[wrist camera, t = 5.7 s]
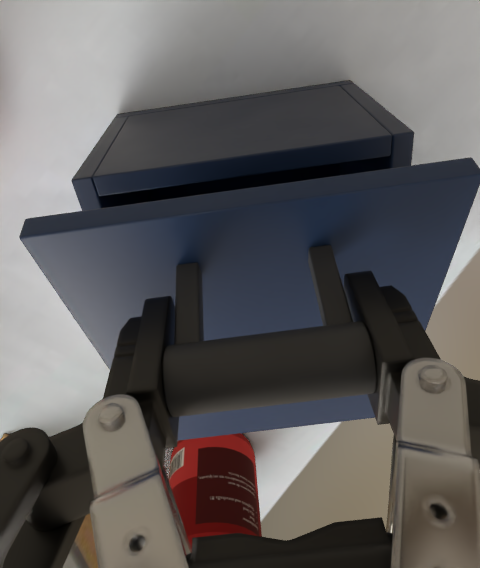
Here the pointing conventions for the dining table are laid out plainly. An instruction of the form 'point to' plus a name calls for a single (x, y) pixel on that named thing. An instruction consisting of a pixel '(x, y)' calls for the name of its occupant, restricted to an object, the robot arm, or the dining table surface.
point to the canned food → (216, 486)
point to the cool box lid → (261, 286)
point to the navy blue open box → (241, 145)
